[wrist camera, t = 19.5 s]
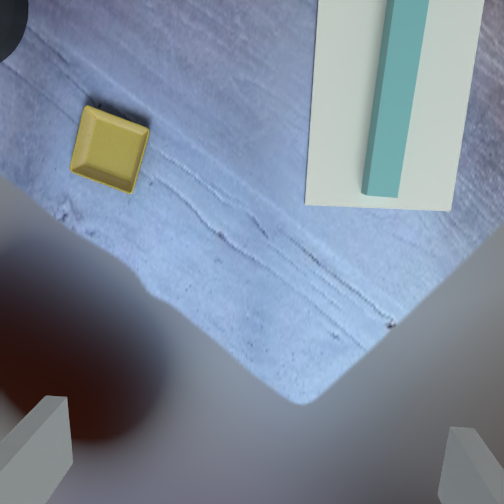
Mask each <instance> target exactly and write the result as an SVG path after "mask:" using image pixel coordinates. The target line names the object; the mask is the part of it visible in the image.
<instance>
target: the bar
mask: <svg viewBox="0 0 504 504" xmlns="http://www.w3.org/2000/svg"><path fill="white" fill-rule="evenodd" d="M428 5H429V0H387V6H386V13H385V20H384V28H383V35H382V42H381V49H380V57H379V64H378V71H377V79H376V86H375V93H374V101H373V108H372V115H371V123H370V130H369V137H368V144H367V152H366V159H365V166H364V174H363V181H362V188H361V193H362V194H364V195H367V196H379V197H392V198H398V192H399V185H400V179H401V173H402V167H403V161H404V154H405V148H406V142H407V136H408V129H409V123H410V117H411V111H412V105H413V98H414V92H415V86H416V80H417V73H418V67H419V61H420V55H421V49H422V42H423V36H424V30H425V24H426V17H427V11H428Z"/></svg>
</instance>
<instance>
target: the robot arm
mask: <svg viewBox="0 0 504 504" xmlns="http://www.w3.org/2000/svg"><path fill="white" fill-rule="evenodd" d="M27 14H28V4H27V0H0V62H1V61H3V60H4V59H6V58H7V57H8V56H9V55H10V54H11V53H12V52H13V51H14V50H15V48H16V47H17V46H18V44H19V42H20V40H21V38H22V36H23V33H24V30H25V27H26V22H27ZM72 464H73V457H72V446H71V435H70V425H69V414H68V404H67V397H56V396H45V397H44V398H43V399H42V400H41V401H40V402H39V403H38V404H37V405H36V406H35V407H34V408H33V409H32V411H30V413H28V414H27V415H26V416H25V417H24V418H23V419H22V420H21V422H20V423H19V424H18V425H17V426H16V427H15V428H14V429H13V430H12V431H11V432H10V433H9V434H8V435H7V436H6V437H5V438H4V439H3V440H2V441H1V442H0V504H45V503H46V502H47V500H48V499H49V497H50V496H51V494H52V493H53V491H54V490H55V489H56V487H57V486H58V484H59V483H60V481H61V480H62V478H63V477H64V475H65V474H66V472H67V471H68V469H69V468H70V466H71V465H72ZM438 496H439V499H440V501H441V503H442V504H504V470H503V468H502V467H501V466H500V464H499V463H498V461H497V460H496V459H495V457H494V456H493V454H492V453H491V452H490V450H489V449H488V447H487V446H486V444H485V443H484V442H483V440H482V439H481V437H480V436H479V435H478V433H477V432H476V430H475V429H474V428H462V427H450V431H449V436H448V442H447V447H446V452H445V458H444V463H443V469H442V474H441V480H440V485H439V491H438Z"/></svg>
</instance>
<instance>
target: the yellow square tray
mask: <svg viewBox="0 0 504 504" xmlns="http://www.w3.org/2000/svg"><path fill="white" fill-rule="evenodd" d="M149 134H150V130H149V129H148V128H147V127H144V126H142V125H139V124H136V123H133V122H131V121H128V120H126V119H123V118H120V117H117V116H115V115H112V114H109V113H107V112H104V111H102V110H99V109H97V108H94V107H92V106H89V105H86V106H85V107H84V109H83V112H82V117H81V121H80V125H79V130H78V134H77V138H76V143H75V146H74V151H73V155H72V159H71V163H70V170H71V172H72V173H74V174H77V175H80V176H82V177H85V178H88V179H90V180H93V181H96V182H99V183H101V184H104V185H107V186H109V187H112V188H115V189H117V190H120V191H122V192H125V193H127V194H132V193H133V191H134V188H135V184H136V180H137V177H138V173H139V170H140V166H141V163H142V159H143V156H144V152H145V148H146V145H147V141H148V138H149Z"/></svg>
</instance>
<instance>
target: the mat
mask: <svg viewBox="0 0 504 504" xmlns="http://www.w3.org/2000/svg"><path fill="white" fill-rule="evenodd" d="M483 5H484V0H429V5H428V11H427V17H426V24H425V30H424V36H423V42H422V49H421V55H420V61H419V67H418V73H417V80H416V86H415V92H414V98H413V105H412V111H411V117H410V123H409V129H408V136H407V142H406V148H405V154H404V161H403V167H402V173H401V179H400V185H399V192H398V198H392V197H379V196H367V195H364V194H362V193H361V188H362V181H363V174H364V166H365V159H366V152H367V144H368V137H369V130H370V123H371V115H372V108H373V101H374V93H375V86H376V79H377V71H378V64H379V57H380V49H381V42H382V35H383V28H384V20H385V13H386V6H387V0H318V13H317V28H316V43H315V58H314V73H313V88H312V103H311V118H310V133H309V148H308V163H307V178H306V193H305V205H318V206H341V207H365V208H389V209H413V210H436V211H451V206H452V199H453V193H454V187H455V181H456V174H457V168H458V162H459V155H460V149H461V143H462V137H463V130H464V124H465V118H466V112H467V105H468V99H469V93H470V87H471V80H472V74H473V68H474V61H475V55H476V49H477V43H478V36H479V30H480V24H481V18H482V11H483Z"/></svg>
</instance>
